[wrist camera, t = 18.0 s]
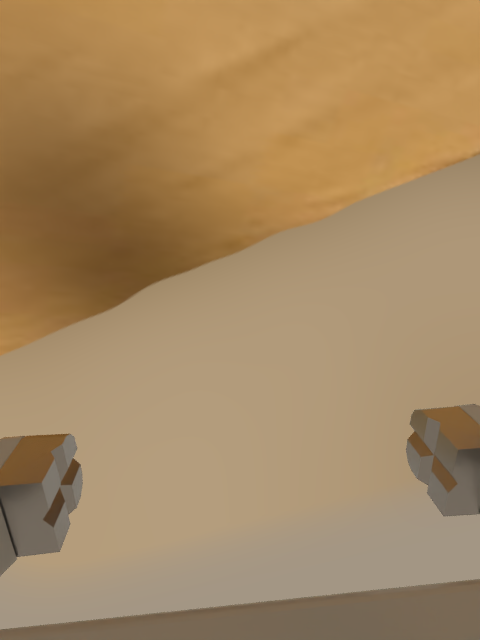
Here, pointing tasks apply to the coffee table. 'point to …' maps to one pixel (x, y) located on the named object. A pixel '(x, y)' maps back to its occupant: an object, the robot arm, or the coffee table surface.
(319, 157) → the coffee table surface
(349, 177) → the coffee table surface
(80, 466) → the robot arm
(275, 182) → the coffee table surface
